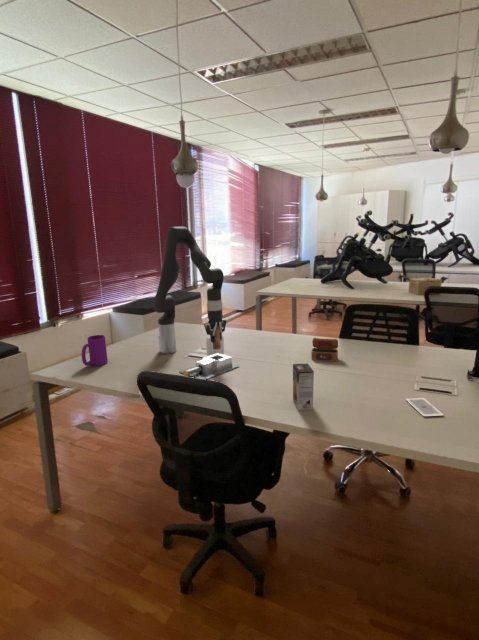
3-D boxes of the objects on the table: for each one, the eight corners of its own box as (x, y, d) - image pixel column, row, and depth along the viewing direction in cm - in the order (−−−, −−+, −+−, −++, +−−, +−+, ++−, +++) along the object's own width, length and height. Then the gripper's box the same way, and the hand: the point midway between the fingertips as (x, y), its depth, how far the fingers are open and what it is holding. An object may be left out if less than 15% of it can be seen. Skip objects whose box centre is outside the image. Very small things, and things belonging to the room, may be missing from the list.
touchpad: (423, 418, 143) (423, 413, 143) (404, 401, 158) (405, 396, 157) (444, 418, 143) (444, 412, 143) (423, 400, 158) (424, 395, 158)
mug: (111, 361, 215) (108, 335, 212) (90, 371, 201) (87, 343, 198) (98, 359, 219) (95, 334, 215) (77, 369, 205) (74, 341, 201)
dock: (179, 372, 195) (178, 362, 194) (215, 359, 213) (214, 350, 212) (203, 381, 183) (202, 371, 182) (239, 366, 201) (238, 357, 200)
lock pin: (183, 375, 188) (182, 370, 187) (203, 368, 197) (203, 363, 196) (187, 377, 186) (186, 371, 185) (207, 369, 195) (207, 364, 194)
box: (294, 366, 201) (294, 344, 198) (302, 350, 227) (302, 330, 224) (350, 370, 192) (351, 348, 190) (352, 353, 218) (352, 333, 216)
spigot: (211, 348, 200) (210, 325, 197) (217, 346, 202) (215, 324, 200) (216, 349, 197) (215, 327, 194) (222, 348, 200) (221, 325, 197)
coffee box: (292, 400, 160) (292, 363, 157) (307, 399, 161) (308, 362, 157) (297, 410, 151) (297, 371, 148) (313, 409, 152) (314, 370, 148)
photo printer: (221, 353, 224) (220, 332, 222) (225, 354, 221) (224, 334, 218) (205, 356, 219) (204, 335, 216) (209, 358, 215) (208, 337, 213)
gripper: (219, 305, 202) (221, 337, 206) (199, 310, 192) (201, 343, 196) (230, 307, 197) (231, 339, 201) (209, 311, 187) (211, 346, 191)
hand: (216, 341), depth 199 cm, fingers closed on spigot, 4 cm apart
